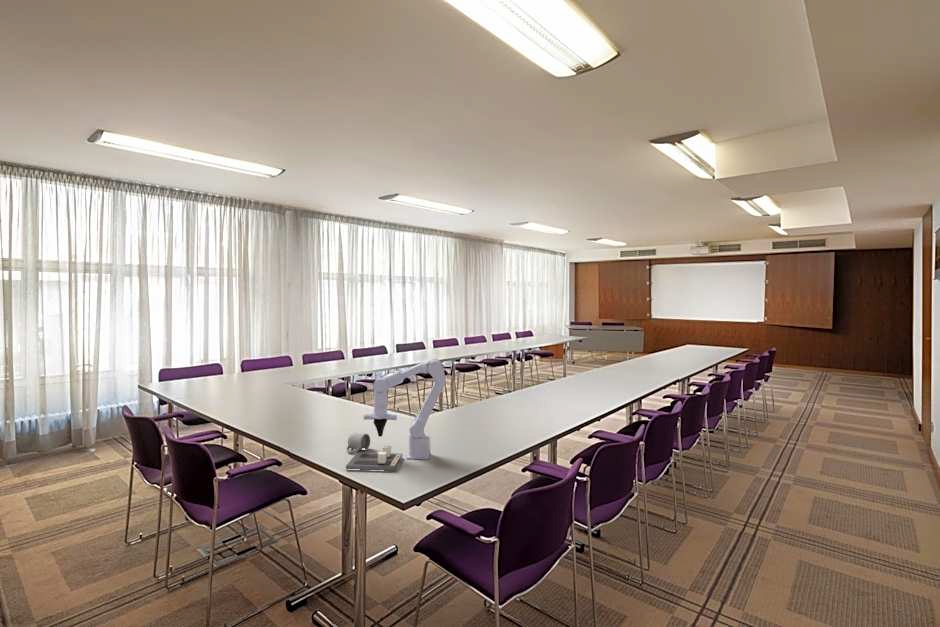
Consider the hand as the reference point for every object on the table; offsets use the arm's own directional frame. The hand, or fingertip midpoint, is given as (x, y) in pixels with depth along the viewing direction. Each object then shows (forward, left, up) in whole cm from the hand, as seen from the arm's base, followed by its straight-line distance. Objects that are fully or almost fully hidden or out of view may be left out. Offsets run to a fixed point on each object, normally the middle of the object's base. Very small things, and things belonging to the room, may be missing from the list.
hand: (380, 435), depth 205 cm
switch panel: (0, +9, -9) cm, 13 cm away
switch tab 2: (-4, +5, -7) cm, 10 cm away
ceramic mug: (+13, -8, -10) cm, 18 cm away
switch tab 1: (-4, +13, -7) cm, 15 cm away
